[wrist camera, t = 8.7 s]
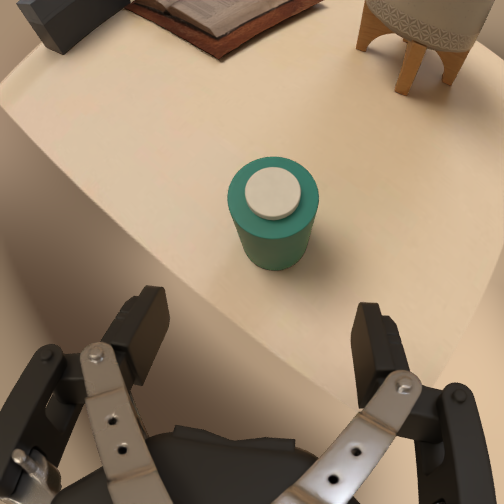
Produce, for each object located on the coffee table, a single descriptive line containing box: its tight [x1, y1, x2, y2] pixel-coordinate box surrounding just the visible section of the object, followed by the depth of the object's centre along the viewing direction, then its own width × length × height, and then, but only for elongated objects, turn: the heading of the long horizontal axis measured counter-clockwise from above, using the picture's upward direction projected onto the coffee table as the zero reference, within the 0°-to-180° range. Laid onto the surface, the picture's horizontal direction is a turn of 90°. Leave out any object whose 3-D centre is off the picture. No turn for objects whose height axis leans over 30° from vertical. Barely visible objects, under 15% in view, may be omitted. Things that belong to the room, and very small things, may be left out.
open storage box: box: [16, 0, 131, 55], centre depth 34 cm, size 15×9×12 cm, turn 141°
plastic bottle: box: [227, 157, 319, 270], centre depth 23 cm, size 5×5×9 cm
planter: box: [356, 0, 495, 96], centre depth 23 cm, size 13×13×18 cm
